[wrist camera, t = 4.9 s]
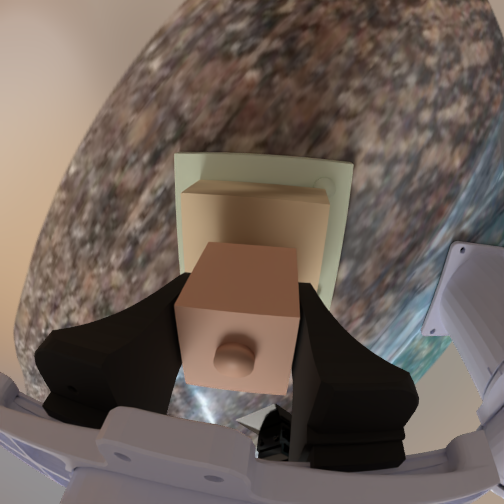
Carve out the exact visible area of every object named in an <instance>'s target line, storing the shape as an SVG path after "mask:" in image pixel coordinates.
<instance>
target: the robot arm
mask: <svg viewBox="0 0 504 504" xmlns="http://www.w3.org/2000/svg"><path fill="white" fill-rule="evenodd" d="M462 247H463V250H462V251H460V250H461V248H462ZM190 274H191V273H188V272H184V273H182V274H181V275H179V276H178V277H176V278H175V279H174V280H172V281H171V282H169V283H168V284H166V285H165V286H164V287H162V288H161V289H159V290H158V291H156V292H155V293H153V294H152V295H150V296H148V297H147V298H145V299H143V300H142V301H140V302H138V303H137V304H135V305H133V306H131V307H129V308H127V309H125V310H123V311H121V312H119V313H116V314H114V315H111V316H108V317H106V318H103V319H101V320H98V321H94V322H91V323H88V324H84V325H80V326H75V327H70V328H65V329H59V330H53V331H52V332H51V333H50V334H49V335H48V337H47V338H46V339H45V340H44V341H43V343H42V344H41V345H40V346H39V348H38V349H37V350H36V351H35V355H34V357H35V363H36V365H37V368H38V370H39V372H40V374H41V375H42V377H43V379H44V381H45V382H46V384H47V386H48V387H49V389H50V391H51V393H50V394H49V396H48V397H47V399H46V400H45V402H44V403H42V402H40V401H38V400H36V399H33V398H31V397H29V396H27V395H25V394H24V393H22V392H19V389H18V387H17V386H16V384H15V383H14V381H13V380H12V379H11V378H10V377H8V376H7V375H5V374H3V373H1V372H0V446H2V447H3V448H5V449H6V450H7V451H9V452H10V453H12V454H13V455H14V456H16V457H17V458H19V459H20V460H22V461H23V462H25V463H26V464H28V465H29V466H31V467H32V468H34V469H36V470H37V471H39V472H40V473H42V474H43V475H45V476H47V477H48V478H50V479H52V480H53V481H55V482H57V483H58V484H60V485H62V486H64V487H66V490H65V492H64V495H63V497H62V499H61V502H60V504H471V503H472V502H474V501H475V500H477V499H478V498H480V497H481V496H483V495H484V494H486V493H487V492H489V491H490V490H491V491H492V492H494V493H495V494H497V495H499V496H501V497H502V498H503V499H504V247H498V246H491V245H484V244H477V243H469V242H461V241H455V242H453V243H452V244H451V246H450V249H449V252H448V256H447V259H446V262H445V265H444V269H443V272H442V275H441V278H440V281H439V284H438V286H437V289H436V292H435V295H434V298H433V300H432V303H431V306H430V308H429V311H428V313H427V316H426V318H425V321H424V323H423V326H422V328H421V333H422V335H423V336H447V335H449V336H450V337H451V339H452V341H453V343H454V345H455V346H456V348H457V350H458V352H459V354H460V356H461V358H462V360H463V362H464V364H465V366H466V367H467V369H468V372H469V373H470V376H471V378H472V380H473V382H474V384H475V386H476V388H477V390H478V392H479V394H480V397H481V399H482V401H483V403H482V405H481V406H480V408H479V409H478V410H477V415H478V417H479V420H480V422H481V425H480V426H479V427H478V429H477V430H476V431H474V432H471V433H467V434H463V435H460V436H458V437H456V438H454V439H453V440H452V441H451V442H450V443H449V444H448V445H447V447H446V448H444V449H439V450H434V451H429V452H424V453H418V454H412V455H406V456H405V452H404V447H403V442H402V440H404V439H405V433H404V428H403V427H404V426H405V425H406V423H407V422H408V420H409V419H410V418H411V416H412V415H413V413H414V412H415V410H416V408H417V406H418V404H419V397H418V394H417V391H416V387H415V385H414V382H413V380H412V378H411V376H410V373H409V372H407V371H405V370H403V369H401V368H399V367H397V366H395V365H393V364H391V363H389V362H387V361H385V360H384V359H382V358H381V357H379V356H377V355H376V354H374V353H373V352H371V351H370V350H369V349H367V348H366V347H365V346H363V345H362V344H361V343H359V342H358V341H357V340H356V339H355V338H354V337H352V336H351V335H350V334H349V333H348V332H347V331H346V330H345V329H344V328H343V327H342V326H341V325H340V324H339V322H338V321H337V320H336V319H335V318H334V317H333V315H332V314H331V313H330V311H329V310H328V309H327V307H326V306H325V305H324V303H323V302H322V300H321V299H320V297H319V296H318V294H317V292H316V291H315V289H314V287H313V286H312V284H311V283H305V282H298V286H299V307H300V321H299V327H298V333H297V339H296V344H295V350H294V356H293V361H292V378H293V404H292V422H291V436H290V449H289V459H288V462H284V461H268V460H263V459H259V458H255V449H256V448H255V446H254V444H253V442H252V440H251V439H250V438H249V437H248V436H246V435H245V434H243V433H241V432H239V431H238V430H236V429H233V428H229V427H225V426H221V425H218V424H211V423H205V422H199V421H193V420H188V419H182V418H177V417H172V416H168V415H166V414H167V410H168V406H169V402H170V398H171V395H172V391H173V388H174V384H175V380H176V377H177V375H178V372H179V369H180V367H181V365H182V357H181V351H180V345H179V338H178V331H177V324H176V317H175V309H174V304H175V302H176V301H177V299H178V297H179V295H180V293H181V291H182V289H183V287H184V286H185V284H186V282H187V280H188V278H189V276H190ZM432 329H433V330H432ZM431 330H432V331H431Z"/></svg>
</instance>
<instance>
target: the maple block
mask: <svg viewBox="0 0 504 504" xmlns="http://www.w3.org/2000/svg"><path fill="white" fill-rule="evenodd" d="M329 210H330V203H329V200H328V196H327V193H326V190H325V189H320V188H310V187H300V186H289V185H278V184H266V183H252V182H237V181H220V180H198V181H197V182H195V183H194V184H193V185H191V186H190V187H188V188H187V189H185V190H184V191H183V192H181V215H182V235H183V252H184V266H185V272H188V273H192V271H193V269H194V267H195V265H196V263H197V262H198V260H199V258H200V256H201V254H202V252H203V251H204V249H205V247H206V245H207V243H208V242H219V243H233V244H246V245H259V246H272V247H284V248H296V253H297V269H298V282H305V283H311V284H312V286H313V287H314V289H315V291H316V292H317V290H318V284H319V278H320V272H321V266H322V259H323V253H324V246H325V239H326V232H327V225H328V218H329Z"/></svg>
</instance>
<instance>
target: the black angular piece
mask: <svg viewBox="0 0 504 504" xmlns="http://www.w3.org/2000/svg"><path fill="white" fill-rule="evenodd" d="M236 421H237V422H239V423H240V424H242V425H243V426H245V427H246V428H248V429H250V430H251V431H253V432H255V433H256V434H258V435H259V436H258V444H257V451H258V452H259V454H258V458H259V459H263V460H268V461H284V462H288V459H289V449H290V436H291V422H292V415H291V414H290V413H288V412H287V411H285V410H284V409H282V408H281V407H280V406H278V405H277V404H273V405H271V406H268V407H266V408H264V409H261V410H259V411H257V412H254V413H252V414H249V415H247V416H244V417H242V418H239V419H237V420H236Z"/></svg>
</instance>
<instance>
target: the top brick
mask: <svg viewBox="0 0 504 504" xmlns="http://www.w3.org/2000/svg"><path fill="white" fill-rule="evenodd" d="M174 309H175V317H176V324H177V331H178V338H179V345H180V351H181V357H182V363H183V369H184V375H185V381H186V384H191V385H197V386H203V387H210V388H217V389H225V390H233V391H241V392H251V393H262V394H274V395H286V392H287V387H288V382H289V377H290V372H291V366H292V361H293V356H294V350H295V344H296V339H297V333H298V327H299V321H300V307H299V286H298V269H297V253H296V248H284V247H272V246H259V245H246V244H233V243H219V242H208V243H207V245H206V247H205V249H204V251H203V252H202V254H201V256H200V258H199V260H198V262H197V263H196V265H195V267H194V269H193V271H192V273H191V274H190V276H189V278H188V280H187V282H186V284H185V286H184V287H183V289H182V291H181V293H180V295H179V297H178V299H177V301H176V302H175V304H174Z"/></svg>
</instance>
